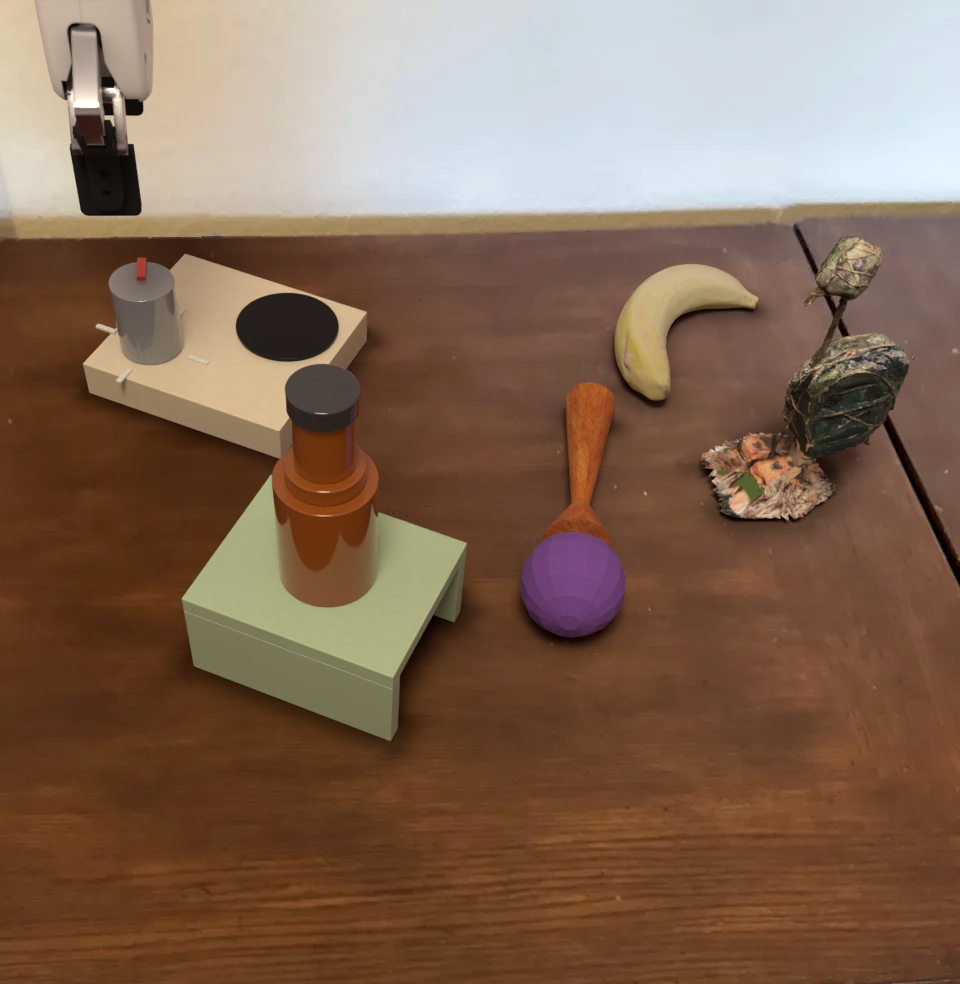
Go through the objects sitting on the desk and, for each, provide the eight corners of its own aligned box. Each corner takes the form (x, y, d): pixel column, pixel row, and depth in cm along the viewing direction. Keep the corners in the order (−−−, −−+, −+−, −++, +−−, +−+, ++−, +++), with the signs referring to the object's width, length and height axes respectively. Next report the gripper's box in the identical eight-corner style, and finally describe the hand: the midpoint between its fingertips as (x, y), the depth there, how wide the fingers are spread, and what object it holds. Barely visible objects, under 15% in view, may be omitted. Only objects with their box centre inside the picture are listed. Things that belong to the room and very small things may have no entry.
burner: (217, 342, 82) (216, 339, 82) (265, 285, 86) (265, 281, 86) (310, 374, 81) (310, 370, 81) (355, 314, 85) (355, 310, 85)
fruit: (570, 371, 87) (576, 333, 84) (675, 268, 95) (684, 230, 92) (659, 417, 85) (669, 379, 82) (759, 307, 93) (771, 270, 90)
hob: (69, 393, 82) (61, 361, 80) (175, 278, 90) (170, 246, 88) (277, 465, 79) (274, 435, 77) (367, 340, 87) (367, 309, 85)
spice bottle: (261, 587, 66) (243, 405, 56) (306, 521, 69) (296, 337, 59) (351, 621, 65) (350, 441, 55) (393, 552, 68) (398, 370, 58)
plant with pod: (881, 527, 80) (1010, 264, 64) (708, 526, 79) (796, 258, 63) (850, 438, 85) (963, 173, 69) (687, 436, 84) (763, 166, 68)
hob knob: (183, 364, 81) (173, 296, 77) (119, 366, 80) (105, 298, 76) (183, 324, 83) (174, 256, 79) (121, 325, 83) (108, 257, 78)
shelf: (193, 666, 70) (180, 598, 65) (276, 544, 75) (270, 473, 71) (390, 742, 68) (393, 677, 63) (460, 610, 73) (467, 542, 69)
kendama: (649, 381, 81) (639, 602, 68) (617, 449, 85) (601, 669, 72) (562, 354, 80) (533, 572, 67) (533, 424, 85) (502, 641, 71)
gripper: (147, -85, 53) (183, 255, 67) (149, -244, 63) (180, 80, 77) (-40, -91, 52) (36, 256, 66) (-7, -253, 62) (53, 78, 76)
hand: (114, 161), depth 71 cm, fingers open, 9 cm apart
